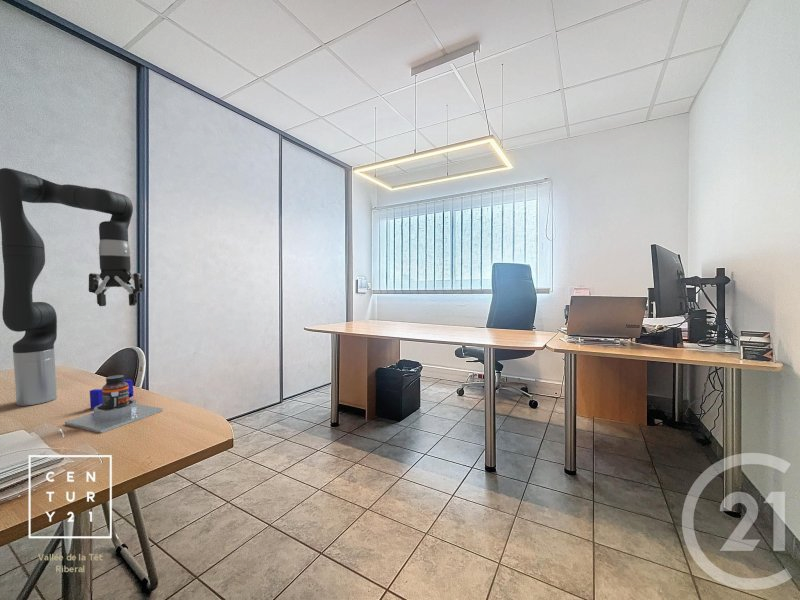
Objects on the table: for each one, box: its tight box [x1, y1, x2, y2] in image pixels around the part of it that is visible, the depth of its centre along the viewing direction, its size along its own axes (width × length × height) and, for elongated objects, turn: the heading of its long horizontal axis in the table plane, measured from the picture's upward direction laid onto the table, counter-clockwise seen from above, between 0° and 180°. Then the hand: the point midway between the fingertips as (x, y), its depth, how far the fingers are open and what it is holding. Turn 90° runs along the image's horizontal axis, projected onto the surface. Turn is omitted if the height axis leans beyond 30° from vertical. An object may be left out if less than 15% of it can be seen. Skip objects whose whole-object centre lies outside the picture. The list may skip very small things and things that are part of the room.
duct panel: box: [64, 398, 164, 434], centre depth 98 cm, size 16×16×4 cm
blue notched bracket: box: [89, 379, 134, 410], centre depth 111 cm, size 12×4×6 cm, turn 174°
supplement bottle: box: [101, 374, 130, 410], centre depth 98 cm, size 6×6×11 cm
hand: (117, 305), depth 108 cm, fingers open, 8 cm apart
